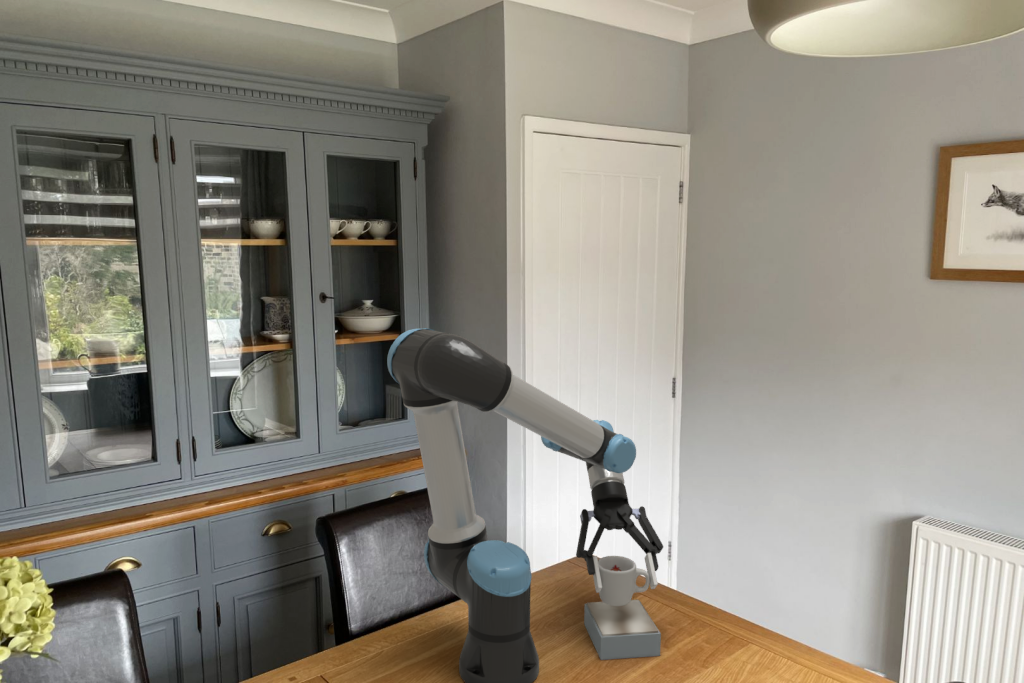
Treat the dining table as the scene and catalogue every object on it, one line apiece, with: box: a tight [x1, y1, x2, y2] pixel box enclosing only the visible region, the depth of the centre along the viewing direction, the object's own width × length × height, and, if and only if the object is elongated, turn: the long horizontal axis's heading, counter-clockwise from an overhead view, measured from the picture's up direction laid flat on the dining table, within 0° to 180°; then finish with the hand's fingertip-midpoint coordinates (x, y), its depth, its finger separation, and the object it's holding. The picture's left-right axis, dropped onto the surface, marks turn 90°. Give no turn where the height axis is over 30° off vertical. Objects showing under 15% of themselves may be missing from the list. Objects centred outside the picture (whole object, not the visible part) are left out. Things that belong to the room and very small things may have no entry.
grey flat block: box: [583, 599, 662, 661], centre depth 152 cm, size 12×14×5 cm
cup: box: [598, 555, 650, 606], centre depth 151 cm, size 11×8×8 cm
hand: (626, 588), depth 148 cm, fingers closed on cup, 11 cm apart
